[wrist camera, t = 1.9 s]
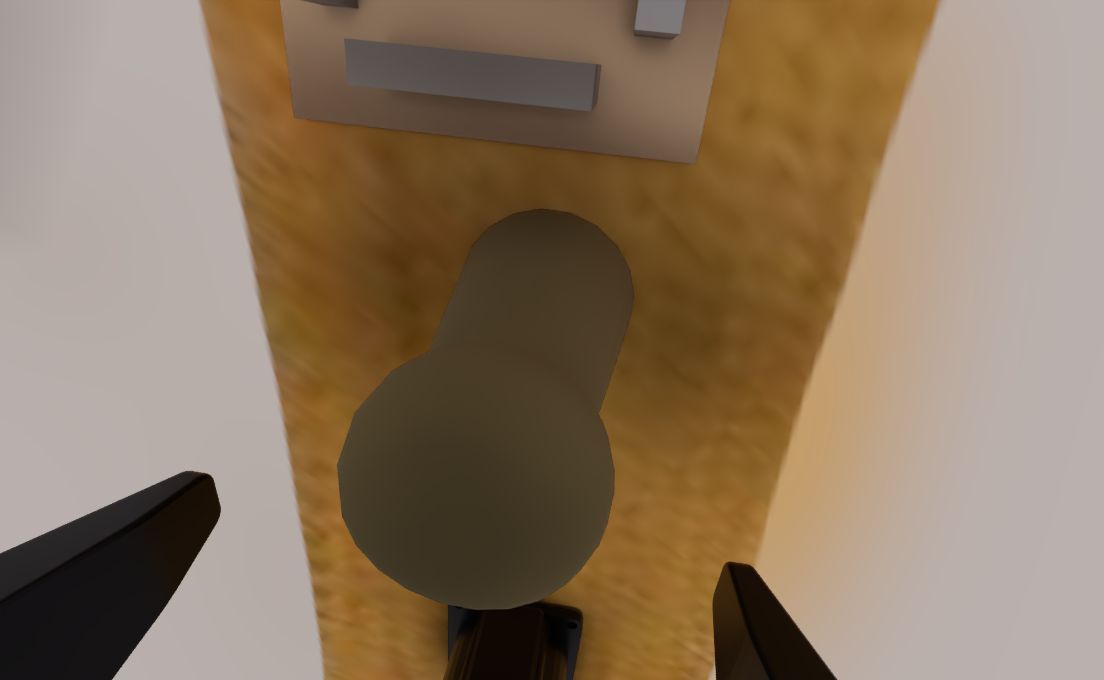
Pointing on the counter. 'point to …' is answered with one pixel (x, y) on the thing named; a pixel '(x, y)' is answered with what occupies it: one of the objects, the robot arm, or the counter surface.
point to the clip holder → (512, 69)
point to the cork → (497, 423)
